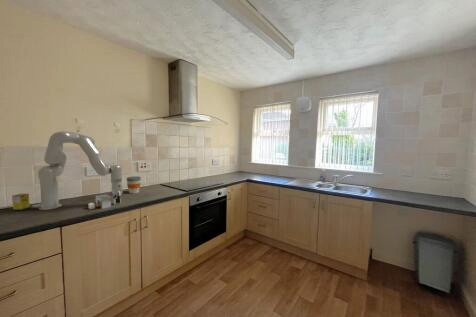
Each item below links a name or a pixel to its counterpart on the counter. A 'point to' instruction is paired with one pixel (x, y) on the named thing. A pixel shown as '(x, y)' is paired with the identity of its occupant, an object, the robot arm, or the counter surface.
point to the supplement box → (20, 201)
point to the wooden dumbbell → (92, 205)
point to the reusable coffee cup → (133, 184)
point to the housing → (103, 200)
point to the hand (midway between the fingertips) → (116, 202)
